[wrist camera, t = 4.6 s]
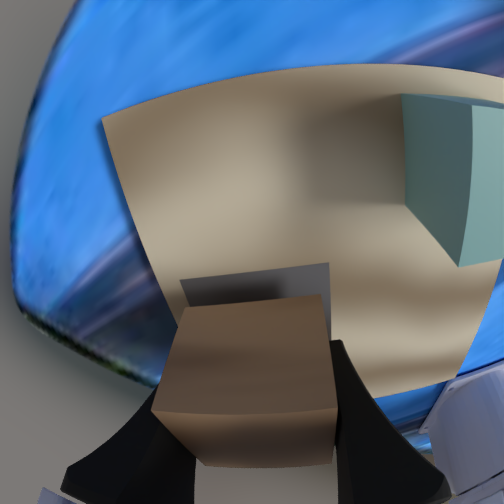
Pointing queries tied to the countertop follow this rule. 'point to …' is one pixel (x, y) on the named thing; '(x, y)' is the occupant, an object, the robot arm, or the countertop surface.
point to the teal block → (456, 173)
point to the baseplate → (305, 209)
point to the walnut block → (251, 384)
